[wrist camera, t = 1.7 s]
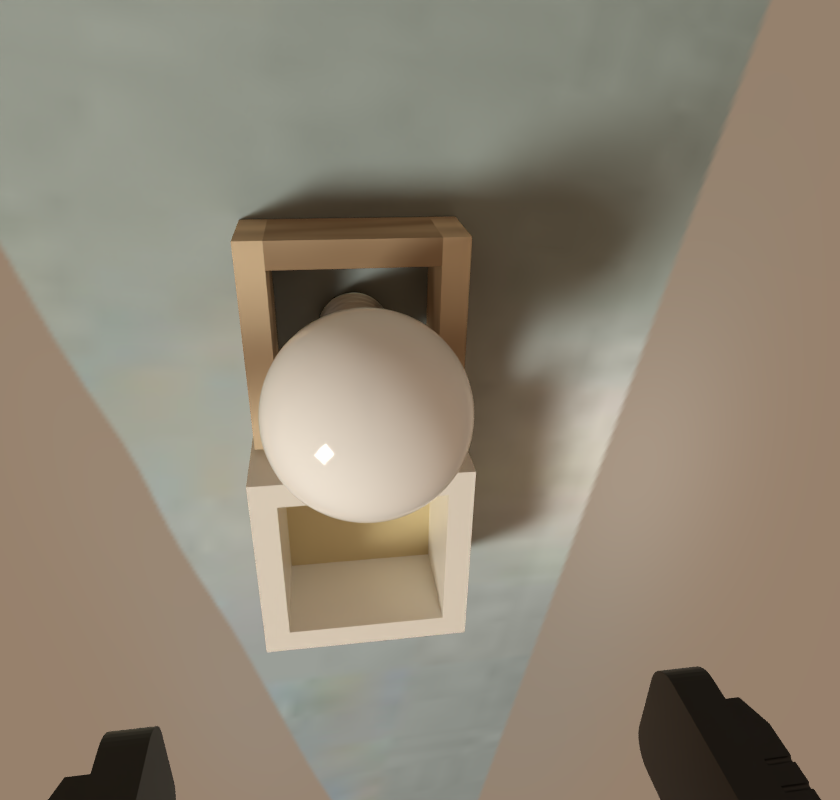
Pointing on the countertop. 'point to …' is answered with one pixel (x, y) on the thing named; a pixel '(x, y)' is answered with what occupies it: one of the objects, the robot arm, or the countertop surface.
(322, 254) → the wooden frame
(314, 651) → the countertop surface
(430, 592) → the cream open cubby box
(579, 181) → the countertop surface
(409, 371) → the lightbulb
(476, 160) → the countertop surface
